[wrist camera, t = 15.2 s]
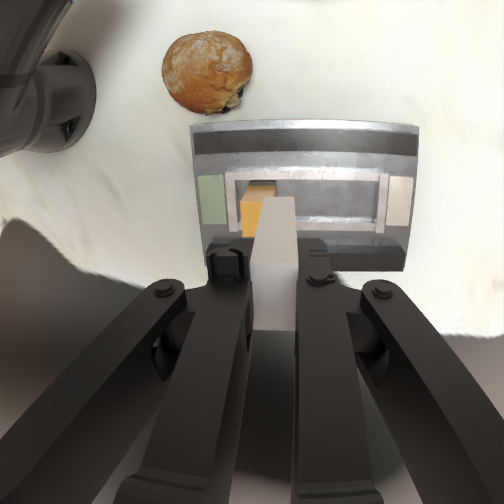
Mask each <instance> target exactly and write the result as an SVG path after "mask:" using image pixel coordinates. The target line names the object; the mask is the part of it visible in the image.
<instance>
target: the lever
mask: <svg viewBox="0 0 504 504" xmlns="http://www.w3.org/2000/svg"><path fill="white" fill-rule="evenodd" d="M264 197H277V195H276V180H252V181H249V186H248V188H247V190H246V192H245V194H244V195H243V197H242V199H241V201H240V208H241V223H242V237H255V235H256V231H257V226H258V221H259V217H260V212H261V207H262V202H263V198H264Z"/></svg>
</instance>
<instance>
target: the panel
mask: <svg viewBox="0 0 504 504" xmlns="http://www.w3.org/2000/svg"><path fill="white" fill-rule="evenodd" d="M190 135H191V146H192V157H193V167H194V177H195V187H196V196H197V205H198V214H199V222H200V230H201V238H202V246H203V254H204V262H205V266H207V263H206V255H207V254H208V253H209V252H210V251H212V250H214V249H217V248H221V247H227V246H228V244H229V243H231V242H232V241H233V240H234V239H255V237H242V223H241V208H240V201H241V199H242V197H243V195H244V194H245V192H246V190H247V188H248V186H249V181H252V180H276V195H277V197H294V201H295V215H296V231H297V238H320V239H321V240H322V241H324V242H325V243H326V246H327V250H328V254H329V259H330V263H331V267H332V271H403V268H404V267H405V261H406V255H407V249H408V243H409V237H410V230H411V222H412V215H413V207H414V198H415V188H416V177H417V163H418V147H419V127H418V126H414V125H406V124H396V123H385V122H371V121H355V120H329V119H270V120H244V121H227V122H214V123H202V124H193V125H190Z"/></svg>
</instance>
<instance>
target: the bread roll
mask: <svg viewBox="0 0 504 504" xmlns="http://www.w3.org/2000/svg"><path fill="white" fill-rule="evenodd" d="M251 73H252V60H251V57H250V55H249V53H248V52H247V51H246V48H245V47H244V45H243V44H242V42H241V41H240V40H239V39H238V38H236V37H234V36H232V35H230V34H226V33H225V32H220V31H209V32H208V31H206V32H202V33H196V34H189V35H185V36H182V37H180V38H178V39H177V40H176V41H175V42H174V43H173V44H172V45H171V46H170V47H169V49H168V51H167V53H166V55H165V57H164V60H163V65H162V77H163V81H164V83H165V85H166V87H167V89H168V91H169V94H170V95H171V96H172V97H173V98H174V100H175V101H177V102H178V103H179V104H180V105H182V106H183V107H185V108H187V109H188V110H190V111H192V112H195V113H205V115H206V116H207V115H209V114H211V113H217V112H221V113H227V112H228V111H229V110H230V109H231V108H233V107H234V106H236V105H238V104H239V102H240V101H241V100H240V99H239V97H241V96H242V94H243V88H244V87H245V85H247V84H248V82H249V80H250V77H251Z"/></svg>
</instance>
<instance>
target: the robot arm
mask: <svg viewBox="0 0 504 504" xmlns="http://www.w3.org/2000/svg"><path fill="white" fill-rule="evenodd" d="M75 2H76V0H0V157H3V156H5V155H8V154H11V153H13V152H16V151H19V150H27V151H34V152H41V153H52V152H56V151H59V150H62V149H65V148H67V147H69V146H71V145H72V144H74V143H75V142H76V141H77V140H78V139H79V138H80V137H81V136H82V135H83V133H84V132H85V130H86V128H87V127H88V125H89V123H90V120H91V118H92V115H93V111H94V106H95V99H96V87H95V80H94V76H93V73H92V70H91V68H90V66H89V65H88V63H87V62H86V61H85V59H84V58H83V57H81V56H80V55H79V54H77V53H75V52H72V51H65V50H52V51H48V52H45V53H43V52H44V50H45V48H46V47H47V45H48V43H49V41H50V39H51V38H52V36H53V34H54V32H55V31H56V29H57V27H58V26H59V24H60V22H61V21H62V19H63V18H64V16H65V15H66V13H67V11H68V10H69V8H70V7H71V5H72V4H74V3H75ZM206 263H207V270H208V278H209V279H208V281H207V284H206V285H205V286H202V287H198V288H193V289H187V290H185V288H184V284H183V283H182V282H181V281H179V280H176V279H162V280H159V281H156V282H154V283H152V284H151V285H149V286H148V287H147V288H146V289H145V290H144V291H143V292H142V293H141V294H140V295H138V296H137V298H135V299H134V300H133V301H132V302H131V303H130V304H129V305H128V306H127V307H126V308H125V309H124V310H123V311H122V312H121V313H120V314H119V315H118V316H117V317H116V318H115V319H114V320H113V321H112V322H111V323H110V324H109V325H108V326H107V327H106V328H105V329H104V330H103V331H102V332H101V333H100V334H99V335H98V336H97V337H96V338H95V339H94V340H93V341H92V342H91V343H90V344H89V345H88V346H87V347H86V348H85V349H84V350H83V351H82V352H81V353H80V354H79V355H78V356H77V357H76V358H75V359H74V360H73V361H72V362H71V363H70V364H69V365H68V366H67V367H66V369H64V371H63V372H62V373H61V374H60V375H59V376H58V377H57V378H56V379H55V380H54V381H53V382H52V383H51V384H50V385H49V386H48V387H47V388H46V390H45V391H44V392H43V393H42V394H41V395H40V396H39V397H38V398H37V399H36V400H35V401H34V402H33V404H32V405H31V406H30V407H29V408H28V409H27V410H26V411H25V412H24V413H23V415H22V416H21V417H20V418H19V419H18V420H17V421H16V422H15V423H14V424H13V426H12V427H11V428H10V429H9V430H8V431H7V433H6V434H5V435H4V436H3V437H2V438H1V439H0V504H91V503H92V502H93V500H94V499H95V497H96V496H97V495H98V493H99V492H100V490H101V489H102V487H103V486H104V484H105V483H106V482H107V480H108V479H109V478H110V476H111V475H112V473H113V472H114V470H115V469H116V467H117V466H118V464H119V463H120V462H121V460H122V459H123V457H124V456H125V455H126V453H127V452H128V450H129V449H130V447H131V446H132V444H133V443H134V442H135V440H136V439H137V437H138V436H139V434H140V433H141V431H142V430H143V429H144V427H145V426H146V424H147V423H148V421H149V420H150V418H151V417H152V416H153V414H154V413H155V411H156V410H157V408H158V407H159V405H160V404H161V402H162V401H163V402H162V405H161V408H160V410H159V413H158V416H157V419H156V422H155V425H154V428H153V431H152V434H151V436H150V439H149V442H148V445H147V448H146V451H145V454H144V457H143V460H142V463H141V466H140V468H139V470H138V472H137V473H136V474H134V475H130V476H127V477H126V478H125V479H124V480H123V481H122V482H121V484H120V487H119V488H118V491H117V493H116V496H115V499H114V502H113V504H228V503H229V496H230V490H231V484H232V477H233V471H234V464H235V458H236V451H237V444H238V438H239V431H240V424H241V418H242V411H243V404H244V397H245V391H246V384H247V377H248V370H249V363H250V356H251V349H252V341H253V335H252V326H253V328H254V330H295V349H294V356H295V394H294V400H295V401H294V435H293V463H292V464H293V465H292V484H291V503H290V504H384V501H383V498H382V496H381V493H380V492H378V491H377V490H376V489H375V488H374V485H373V480H372V472H371V463H370V454H369V446H368V438H367V430H366V423H365V416H364V409H363V402H362V396H361V390H360V384H359V378H358V372H357V367H358V369H359V371H360V373H361V375H362V377H363V379H364V381H365V383H366V385H367V387H368V389H369V391H370V393H371V395H372V397H373V399H374V401H375V403H376V405H377V407H378V409H379V411H380V413H381V415H382V417H383V419H384V421H385V423H386V425H387V427H388V429H389V431H390V433H391V436H392V438H393V439H394V442H395V444H396V446H397V448H398V450H399V452H400V454H401V457H402V459H403V461H404V463H405V465H406V467H407V469H408V472H409V474H410V476H411V478H412V480H413V482H414V484H415V487H416V489H417V491H418V493H419V496H420V498H421V500H422V503H423V504H504V420H503V418H502V417H501V415H500V414H499V412H498V411H497V410H496V408H495V407H494V405H493V404H492V402H491V401H490V400H489V398H488V397H487V396H486V394H485V393H484V391H483V390H482V389H481V387H480V386H479V384H478V383H477V382H476V380H475V379H474V378H473V376H472V375H471V374H470V372H469V371H468V370H467V368H466V367H465V366H464V364H463V363H462V362H461V361H460V359H459V358H458V357H457V355H456V354H455V353H454V351H453V350H452V349H451V348H450V346H449V345H448V344H447V343H446V341H445V340H444V339H443V338H442V336H441V335H440V334H439V333H438V331H437V330H436V329H435V328H434V327H433V325H432V324H431V323H430V322H429V321H428V319H427V318H426V317H425V316H424V315H423V313H422V312H421V311H420V310H419V309H418V308H417V306H416V305H415V304H414V303H413V302H412V301H411V299H410V298H409V297H408V296H407V295H406V294H405V293H404V291H403V290H402V289H401V288H400V287H399V286H397V285H396V284H395V283H392V282H390V281H387V280H381V279H379V280H371V281H368V282H366V283H365V284H364V285H363V288H362V290H358V289H353V288H349V287H346V286H344V285H341V284H340V283H339V279H338V277H337V276H336V275H335V274H334V273H333V272H332V267H331V263H330V259H329V254H328V250H327V246H326V243H325V242H324V241H322V240H321V239H320V238H297V231H296V215H295V201H294V197H264V198H263V202H262V207H261V212H260V217H259V221H258V226H257V231H256V235H255V239H234V240H233V241H232V242H231V243H229V244H228V246H227V247H221V248H217V249H214V250H212V251H210V252H209V253H208V254H207V255H206ZM156 340H157V341H156ZM155 341H156V342H155ZM154 342H155V343H154ZM356 365H357V367H356Z"/></svg>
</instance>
